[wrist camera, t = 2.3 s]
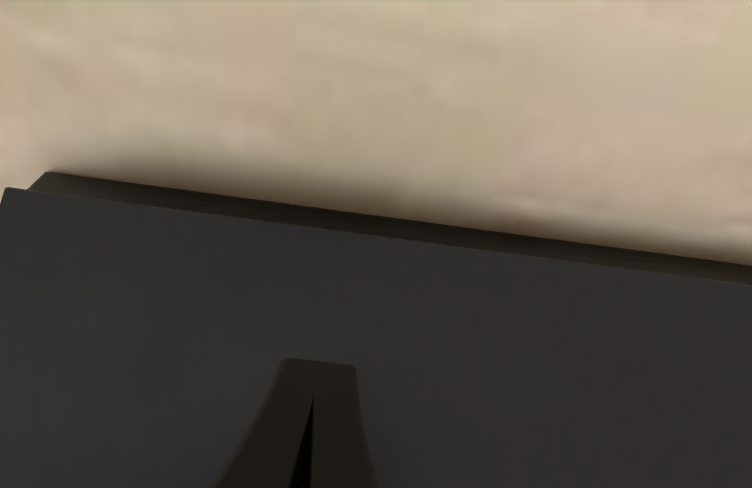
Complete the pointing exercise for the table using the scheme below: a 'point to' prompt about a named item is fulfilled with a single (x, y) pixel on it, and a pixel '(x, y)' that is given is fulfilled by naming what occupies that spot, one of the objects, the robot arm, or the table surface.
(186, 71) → the table surface
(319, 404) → the robot arm
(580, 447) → the laptop screen
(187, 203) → the laptop
